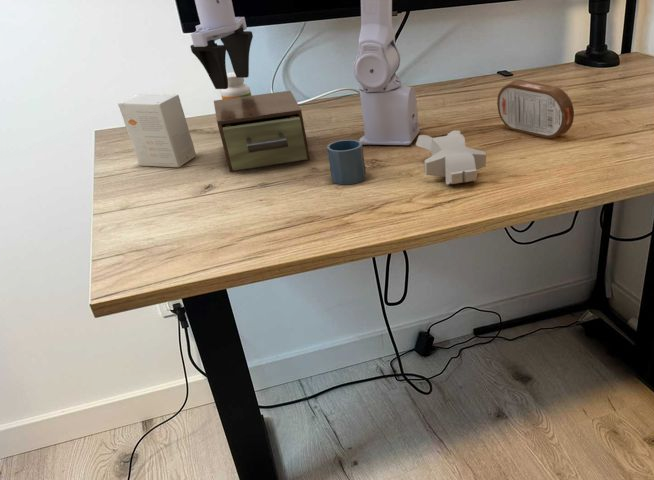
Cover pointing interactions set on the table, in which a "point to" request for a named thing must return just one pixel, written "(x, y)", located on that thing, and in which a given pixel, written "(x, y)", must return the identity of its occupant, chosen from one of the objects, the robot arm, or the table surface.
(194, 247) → the table surface
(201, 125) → the table surface
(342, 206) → the table surface
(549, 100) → the tin
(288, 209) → the table surface
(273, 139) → the drawer
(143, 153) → the small box
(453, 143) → the grey branched angular piece
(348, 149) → the cup
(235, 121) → the cabinet
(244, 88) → the supplement bottle
